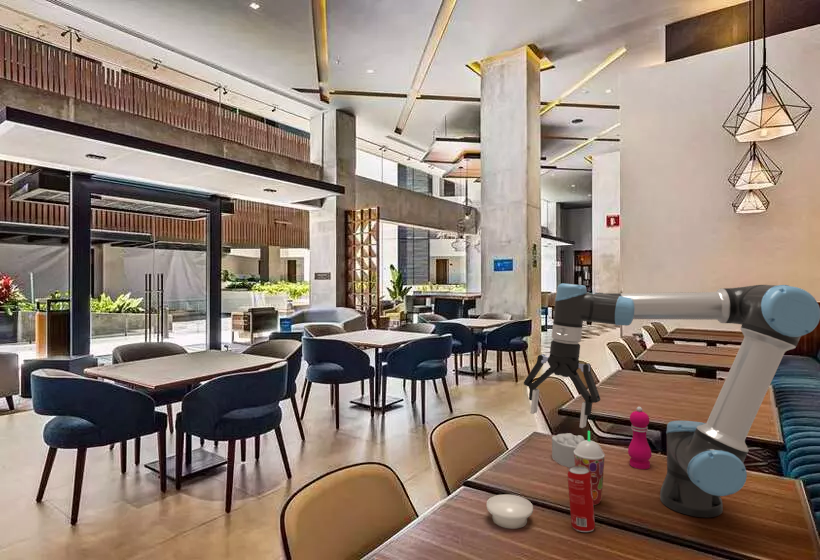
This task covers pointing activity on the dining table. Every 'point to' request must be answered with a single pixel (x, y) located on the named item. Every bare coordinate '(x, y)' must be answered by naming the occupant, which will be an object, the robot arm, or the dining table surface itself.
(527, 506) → the stand
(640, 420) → the pepper mill
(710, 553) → the dining table surface
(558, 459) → the lumpy-topped squat cylinder
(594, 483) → the smoothie
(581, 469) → the beverage can
